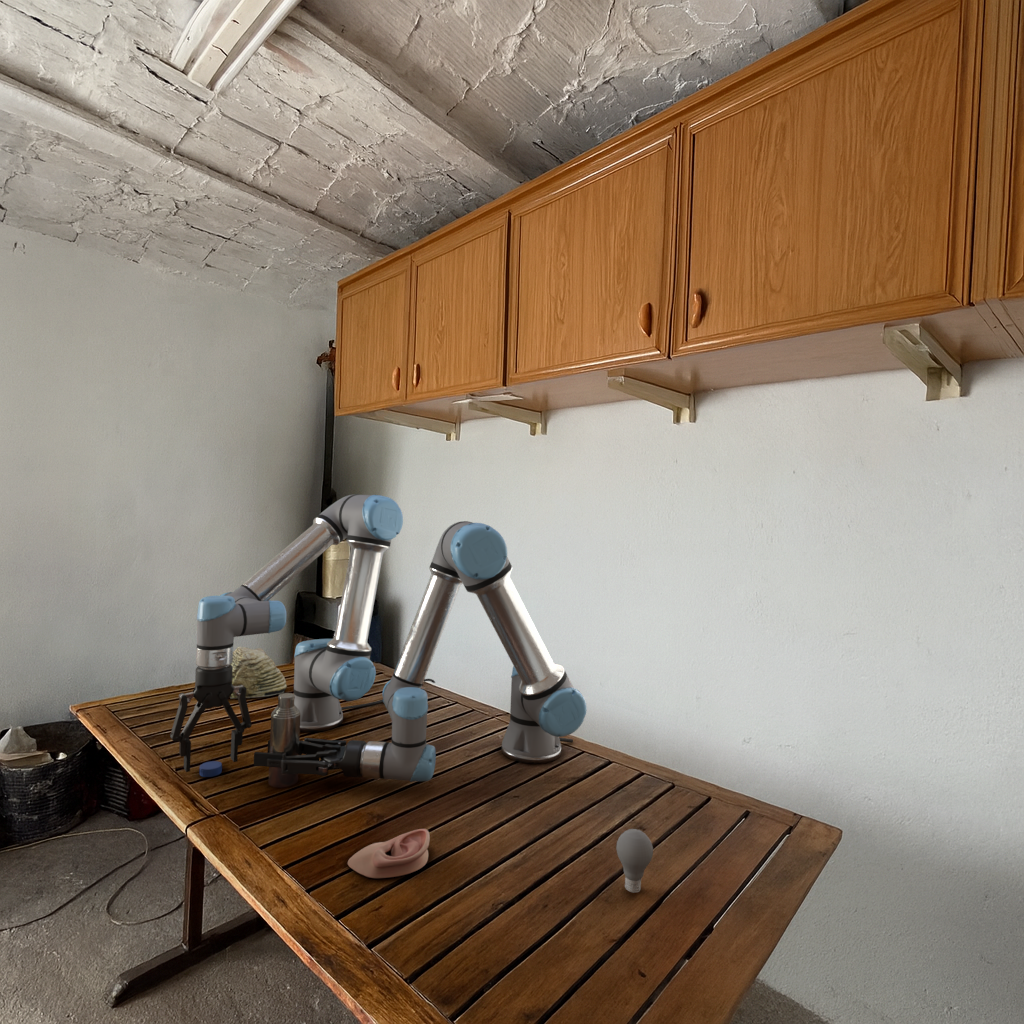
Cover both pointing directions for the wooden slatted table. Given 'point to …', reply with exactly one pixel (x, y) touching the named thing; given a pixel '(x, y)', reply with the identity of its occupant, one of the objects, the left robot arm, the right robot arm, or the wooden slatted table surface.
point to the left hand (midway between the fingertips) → (210, 764)
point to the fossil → (256, 673)
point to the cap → (210, 769)
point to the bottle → (284, 738)
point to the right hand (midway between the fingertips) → (261, 752)
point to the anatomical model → (393, 856)
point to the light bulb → (634, 857)
